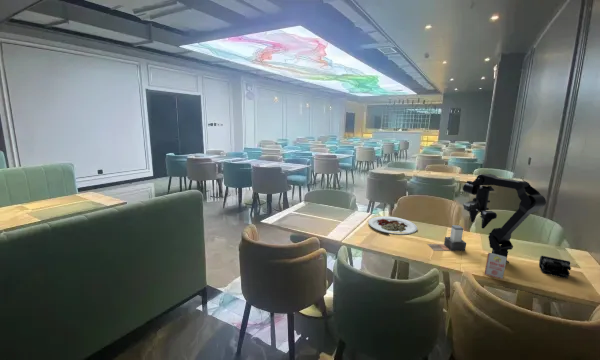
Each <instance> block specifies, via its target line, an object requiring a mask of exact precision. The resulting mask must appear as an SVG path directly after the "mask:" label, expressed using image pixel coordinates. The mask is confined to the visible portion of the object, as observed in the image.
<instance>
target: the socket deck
mask: <svg viewBox="0 0 600 360" xmlns="http://www.w3.org/2000/svg"><path fill="white" fill-rule="evenodd" d="M427 246H428V247H429V248H430V249H432V251H433V252H466V246H467V242H466V241H465V240H463V239H462V241H461V242H453V241H451V240H450V236H445V238H444V242H443V243H433V244H432V243H427Z"/></svg>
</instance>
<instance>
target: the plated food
mask: <svg viewBox="0 0 600 360" xmlns="http://www.w3.org/2000/svg"><path fill="white" fill-rule="evenodd" d="M368 225H369V226H370V227H371V228H373V229H374V230H376V231H379V232H382V233H386V234H392V235H410V234H414V233H415V232H417V231H418V226H417V225H416V224H415V223H414V222H412V221H410V220H407V219H405V218H401V217H396V216H385V215H384V216H382V215H381V216H375V217H371V218H370V219H368Z"/></svg>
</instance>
